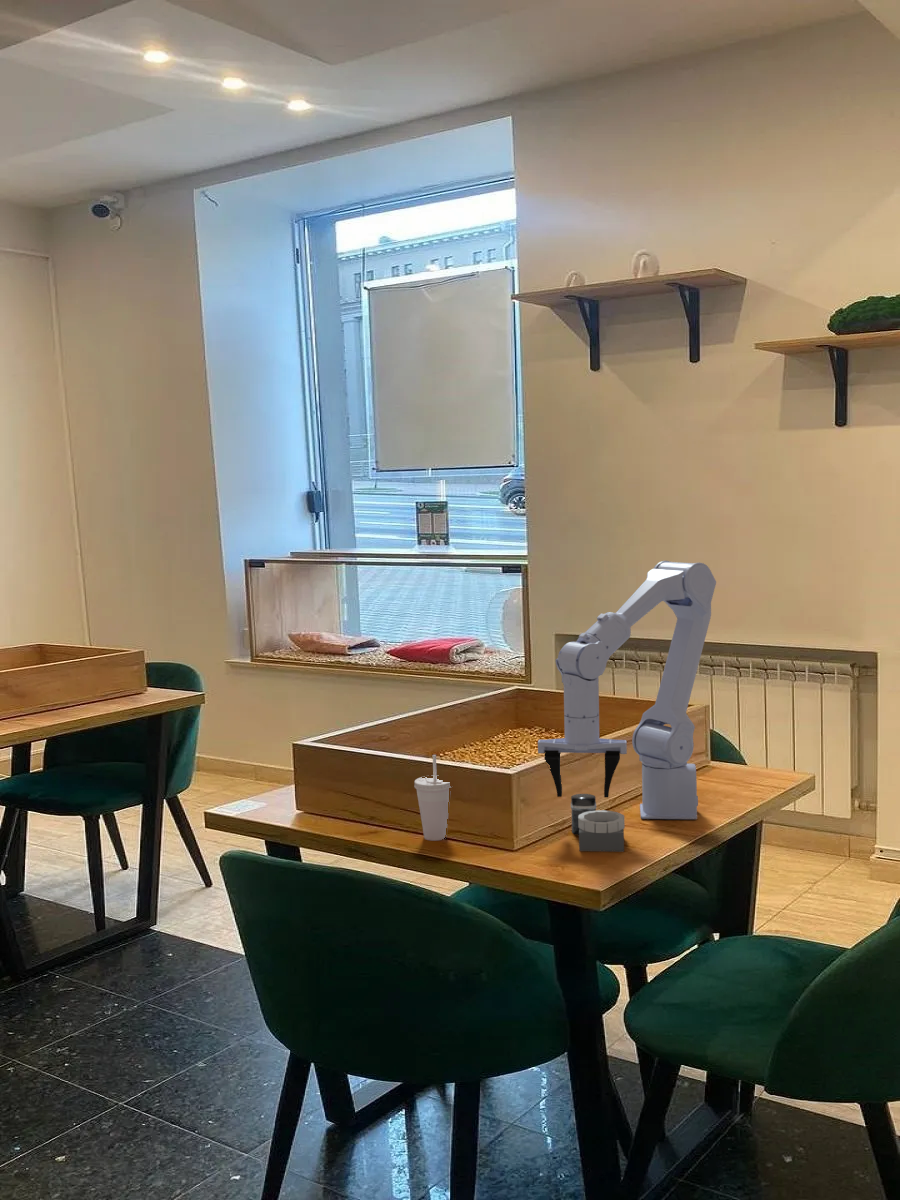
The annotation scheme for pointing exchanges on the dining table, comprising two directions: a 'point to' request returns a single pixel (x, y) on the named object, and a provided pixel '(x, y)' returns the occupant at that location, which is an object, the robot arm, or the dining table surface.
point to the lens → (581, 808)
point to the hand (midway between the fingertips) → (582, 795)
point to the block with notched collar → (601, 831)
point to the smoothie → (433, 805)
